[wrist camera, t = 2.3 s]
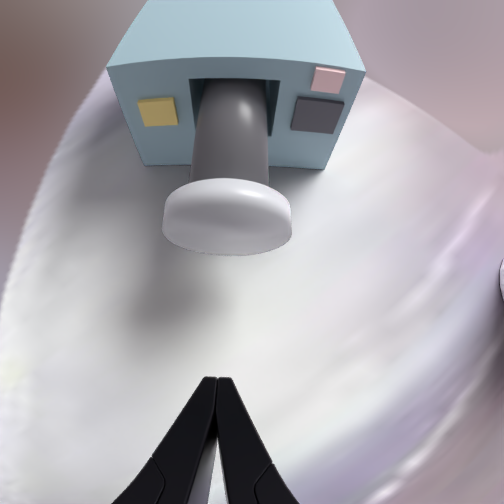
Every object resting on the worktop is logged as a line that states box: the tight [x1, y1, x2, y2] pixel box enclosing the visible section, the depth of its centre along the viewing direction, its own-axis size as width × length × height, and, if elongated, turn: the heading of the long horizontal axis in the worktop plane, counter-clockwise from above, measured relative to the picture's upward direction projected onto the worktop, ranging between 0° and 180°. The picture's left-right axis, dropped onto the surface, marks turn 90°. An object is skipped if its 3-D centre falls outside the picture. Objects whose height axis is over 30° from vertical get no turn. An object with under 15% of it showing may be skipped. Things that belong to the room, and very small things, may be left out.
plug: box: [162, 78, 292, 256], centre depth 17 cm, size 14×6×6 cm, turn 0°
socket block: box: [106, 0, 366, 170], centre depth 20 cm, size 12×14×10 cm
